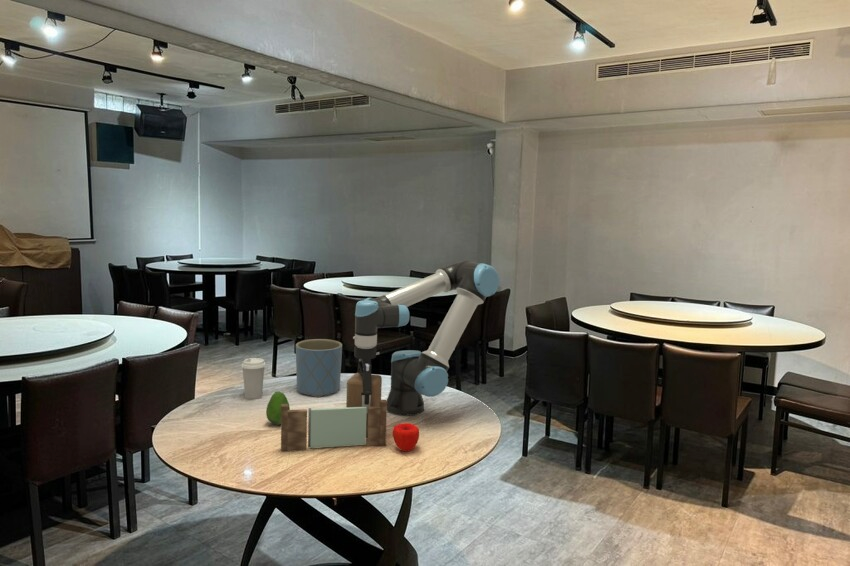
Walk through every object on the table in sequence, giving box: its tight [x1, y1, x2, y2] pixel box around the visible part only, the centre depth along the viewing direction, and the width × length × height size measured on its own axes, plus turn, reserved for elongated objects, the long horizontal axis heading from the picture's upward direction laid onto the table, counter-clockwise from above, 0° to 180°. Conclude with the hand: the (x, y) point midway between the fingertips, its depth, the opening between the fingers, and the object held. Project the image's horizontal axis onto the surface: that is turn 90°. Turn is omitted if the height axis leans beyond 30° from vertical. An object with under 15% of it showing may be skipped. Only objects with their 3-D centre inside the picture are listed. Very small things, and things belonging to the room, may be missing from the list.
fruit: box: [265, 391, 291, 426], centre depth 205 cm, size 8×8×12 cm
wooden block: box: [345, 372, 383, 439], centre depth 199 cm, size 10×10×20 cm
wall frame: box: [280, 399, 388, 453], centre depth 187 cm, size 34×2×15 cm, turn 103°
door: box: [307, 407, 367, 449], centre depth 187 cm, size 19×1×13 cm, turn 103°
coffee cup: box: [240, 357, 267, 400], centre depth 231 cm, size 10×10×15 cm
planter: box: [295, 338, 343, 398], centre depth 241 cm, size 19×19×20 cm
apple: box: [392, 422, 420, 452], centre depth 188 cm, size 9×9×8 cm
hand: (363, 405), depth 199 cm, fingers open, 13 cm apart
